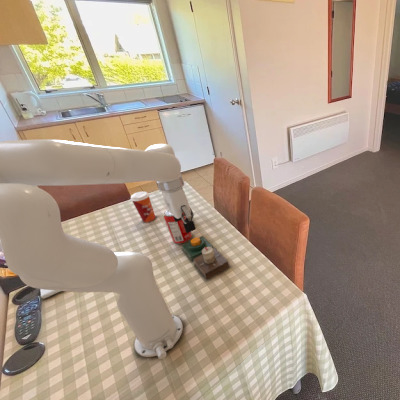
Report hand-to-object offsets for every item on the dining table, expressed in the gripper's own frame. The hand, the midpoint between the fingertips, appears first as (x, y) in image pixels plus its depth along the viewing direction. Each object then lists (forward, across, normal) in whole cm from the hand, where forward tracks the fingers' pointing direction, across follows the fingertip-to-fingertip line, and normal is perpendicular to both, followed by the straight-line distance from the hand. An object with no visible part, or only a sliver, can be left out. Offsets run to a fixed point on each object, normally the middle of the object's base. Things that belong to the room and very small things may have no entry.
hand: (185, 225), depth 95 cm
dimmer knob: (+16, +4, +3) cm, 17 cm away
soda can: (+20, -21, +2) cm, 29 cm away
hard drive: (+18, -27, -44) cm, 55 cm away
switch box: (+19, -9, +4) cm, 21 cm away
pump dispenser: (+20, -32, +8) cm, 39 cm away
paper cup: (+20, -50, -3) cm, 54 cm away
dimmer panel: (+19, +4, +3) cm, 20 cm away
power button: (+16, -9, +4) cm, 18 cm away
